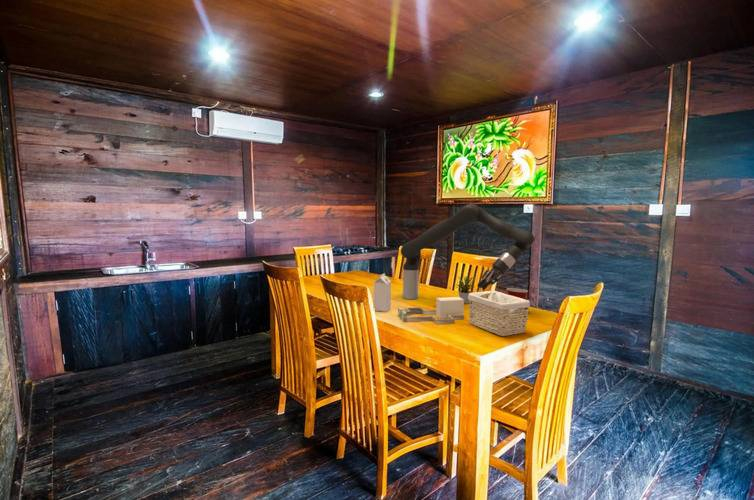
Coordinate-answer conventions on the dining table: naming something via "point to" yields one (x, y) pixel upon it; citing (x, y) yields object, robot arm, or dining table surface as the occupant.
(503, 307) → the storage basket
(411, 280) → the robot arm
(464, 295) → the house plant
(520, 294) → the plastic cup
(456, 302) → the cream box
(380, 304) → the milk carton
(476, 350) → the dining table surface
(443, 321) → the trap lane
